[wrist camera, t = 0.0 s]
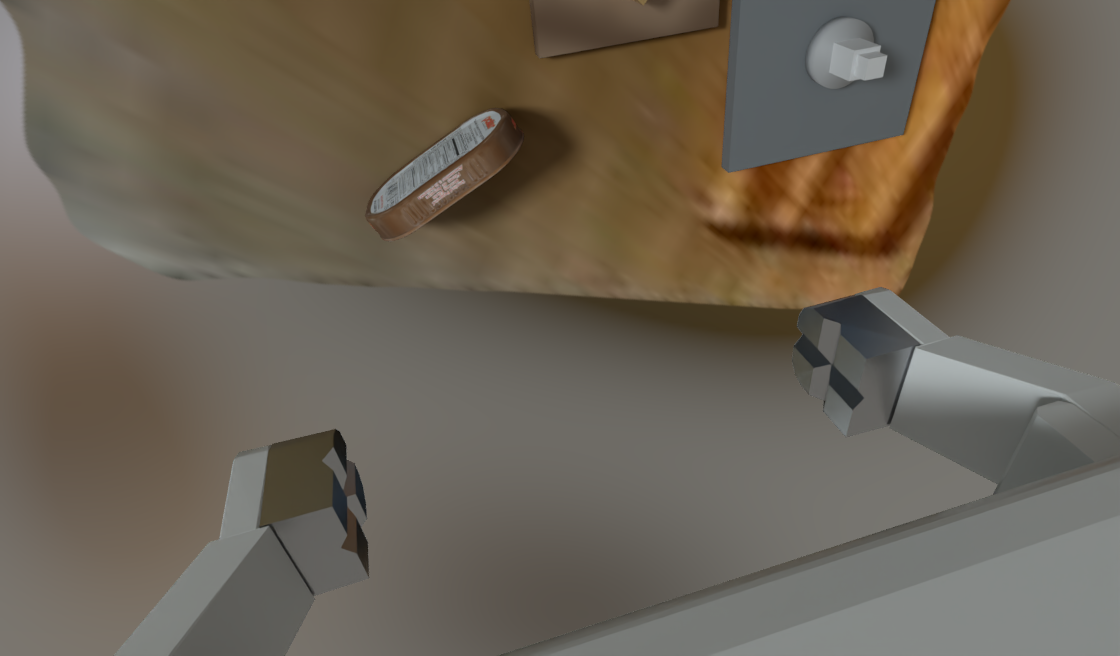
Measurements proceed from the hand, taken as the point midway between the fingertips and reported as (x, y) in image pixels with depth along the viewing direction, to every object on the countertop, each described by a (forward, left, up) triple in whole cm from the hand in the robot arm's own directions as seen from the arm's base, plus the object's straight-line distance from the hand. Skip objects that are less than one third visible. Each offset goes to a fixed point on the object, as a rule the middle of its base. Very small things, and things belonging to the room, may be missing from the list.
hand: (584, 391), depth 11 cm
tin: (+14, 0, -48) cm, 50 cm away
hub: (+11, +38, -48) cm, 62 cm away
